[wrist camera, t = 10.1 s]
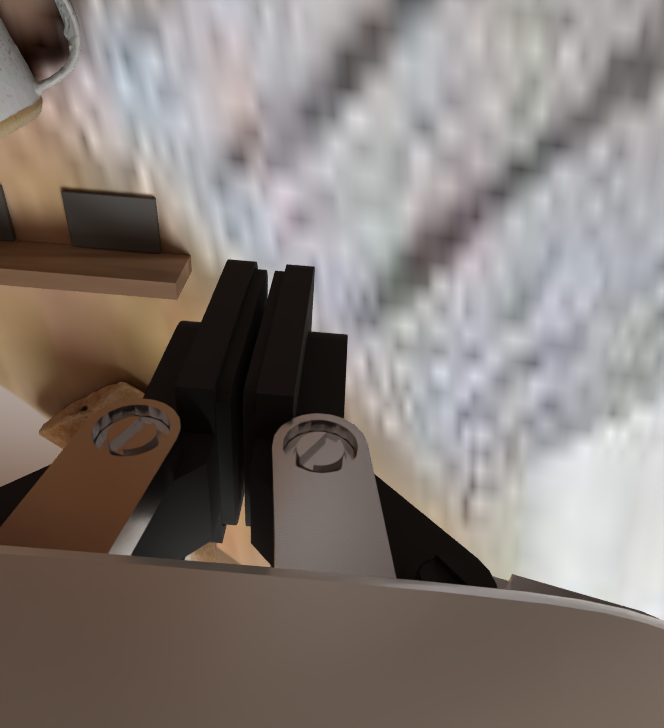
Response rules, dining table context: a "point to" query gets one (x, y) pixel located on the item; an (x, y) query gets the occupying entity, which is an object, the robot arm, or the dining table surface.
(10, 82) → the ceramic mug
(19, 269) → the trap box
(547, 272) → the dining table surface
